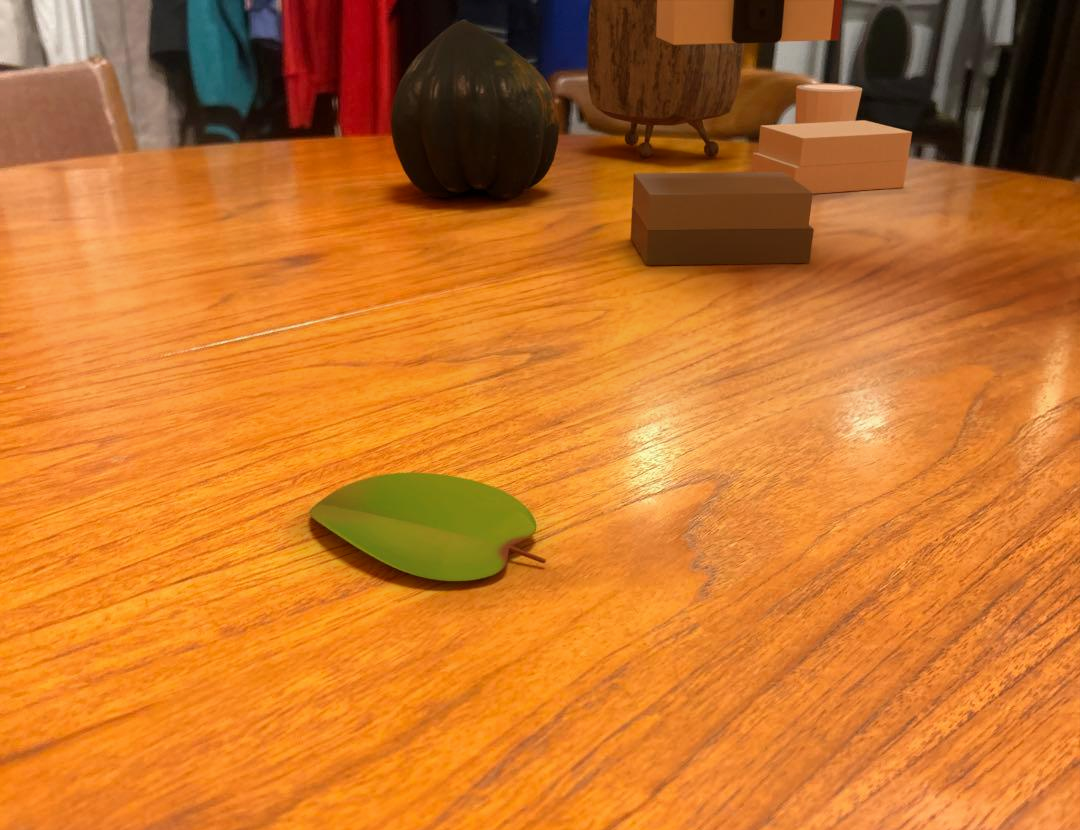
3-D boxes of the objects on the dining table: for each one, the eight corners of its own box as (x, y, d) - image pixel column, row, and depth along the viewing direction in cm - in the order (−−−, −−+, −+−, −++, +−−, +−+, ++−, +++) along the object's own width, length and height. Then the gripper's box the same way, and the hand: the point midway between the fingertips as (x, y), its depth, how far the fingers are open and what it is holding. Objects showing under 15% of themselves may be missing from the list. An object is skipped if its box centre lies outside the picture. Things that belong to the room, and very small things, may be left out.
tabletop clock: (734, 157, 117) (758, -114, 105) (686, 169, 111) (705, -117, 99) (627, 142, 125) (637, -110, 113) (577, 153, 119) (582, -113, 107)
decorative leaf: (379, 621, 38) (376, 599, 38) (298, 508, 45) (295, 488, 44) (569, 556, 41) (568, 535, 41) (467, 459, 48) (465, 440, 47)
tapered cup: (786, 149, 122) (794, 82, 118) (849, 151, 121) (858, 83, 118) (790, 160, 116) (798, 89, 112) (856, 162, 115) (866, 91, 112)
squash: (504, 153, 87) (545, -8, 90) (343, 149, 92) (386, -4, 95) (555, 242, 100) (590, 99, 103) (411, 234, 105) (448, 98, 108)
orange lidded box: (855, 172, 110) (863, 119, 108) (903, 187, 103) (912, 132, 101) (750, 179, 107) (755, 125, 104) (792, 195, 100) (799, 138, 98)
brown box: (781, 237, 86) (788, 171, 84) (809, 263, 79) (818, 192, 77) (630, 238, 85) (633, 172, 83) (646, 265, 78) (649, 194, 76)
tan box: (808, 33, 78) (812, -15, 77) (839, 40, 72) (844, -11, 71) (655, 37, 78) (657, -10, 76) (673, 45, 72) (675, -7, 70)
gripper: (870, -311, 59) (834, 47, 68) (785, -259, 74) (764, 28, 83) (734, -310, 59) (714, 50, 67) (676, -257, 74) (666, 31, 82)
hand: (742, 36), depth 75 cm, fingers closed on tan box, 7 cm apart
